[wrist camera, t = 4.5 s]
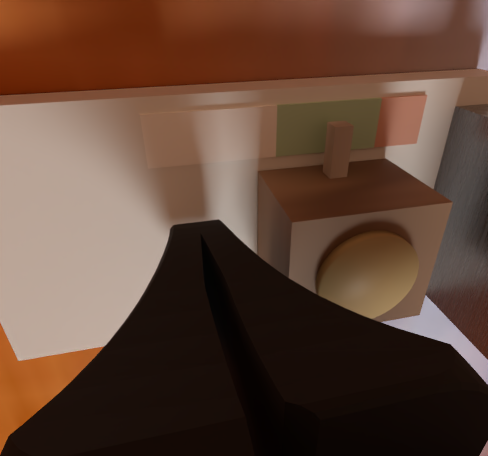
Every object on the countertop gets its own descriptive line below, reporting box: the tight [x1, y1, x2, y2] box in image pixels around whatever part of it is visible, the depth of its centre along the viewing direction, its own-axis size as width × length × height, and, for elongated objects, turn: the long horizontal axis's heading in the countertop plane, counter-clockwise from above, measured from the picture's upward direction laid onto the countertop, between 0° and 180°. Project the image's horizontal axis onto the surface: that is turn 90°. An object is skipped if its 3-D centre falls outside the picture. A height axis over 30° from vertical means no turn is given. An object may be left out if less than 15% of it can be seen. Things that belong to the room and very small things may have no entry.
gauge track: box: [0, 69, 488, 361], centre depth 12 cm, size 16×8×1 cm, turn 91°
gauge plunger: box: [257, 121, 453, 322], centre depth 10 cm, size 4×5×3 cm
